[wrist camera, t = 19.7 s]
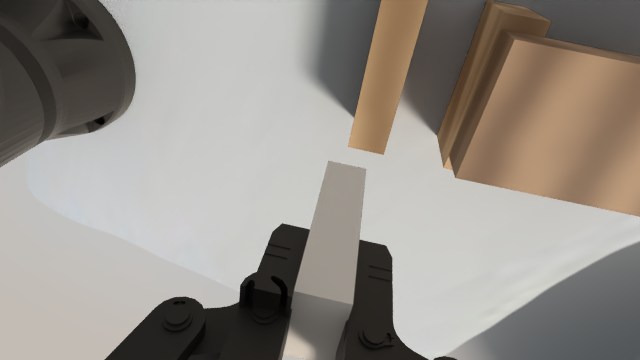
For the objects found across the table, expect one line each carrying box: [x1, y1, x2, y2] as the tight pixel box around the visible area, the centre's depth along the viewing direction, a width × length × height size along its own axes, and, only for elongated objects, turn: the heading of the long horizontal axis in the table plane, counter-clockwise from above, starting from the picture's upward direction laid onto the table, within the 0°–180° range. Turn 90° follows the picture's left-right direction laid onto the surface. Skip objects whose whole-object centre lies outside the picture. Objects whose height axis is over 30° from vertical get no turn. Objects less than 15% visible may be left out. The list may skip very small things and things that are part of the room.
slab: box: [449, 29, 640, 216], centre depth 27 cm, size 16×10×3 cm, turn 80°
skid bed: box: [348, 0, 552, 170], centre depth 31 cm, size 11×12×6 cm
